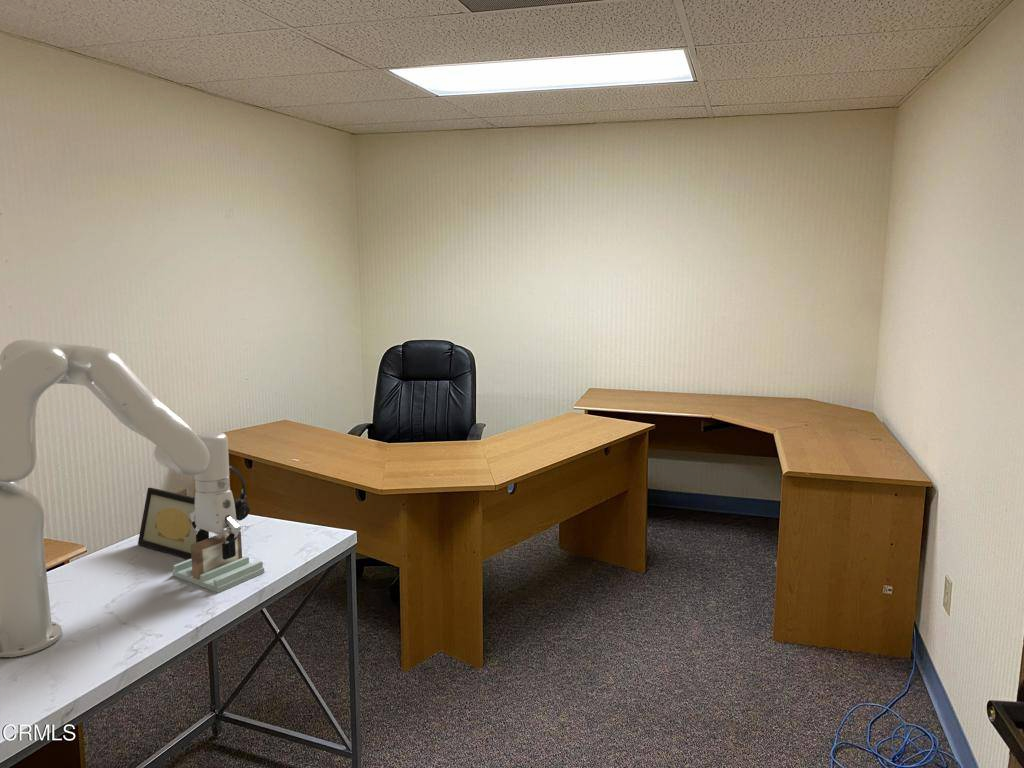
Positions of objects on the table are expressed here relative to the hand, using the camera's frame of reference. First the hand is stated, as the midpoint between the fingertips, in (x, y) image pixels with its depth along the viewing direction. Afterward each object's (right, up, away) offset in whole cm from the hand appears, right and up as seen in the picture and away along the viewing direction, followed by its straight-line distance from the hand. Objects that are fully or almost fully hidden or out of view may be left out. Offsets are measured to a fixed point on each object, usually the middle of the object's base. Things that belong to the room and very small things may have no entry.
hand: (216, 553), depth 177 cm
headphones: (-6, -1, +27) cm, 28 cm away
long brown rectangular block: (0, -4, +1) cm, 4 cm away
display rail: (0, -5, +1) cm, 5 cm away
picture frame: (-16, -3, +17) cm, 23 cm away
